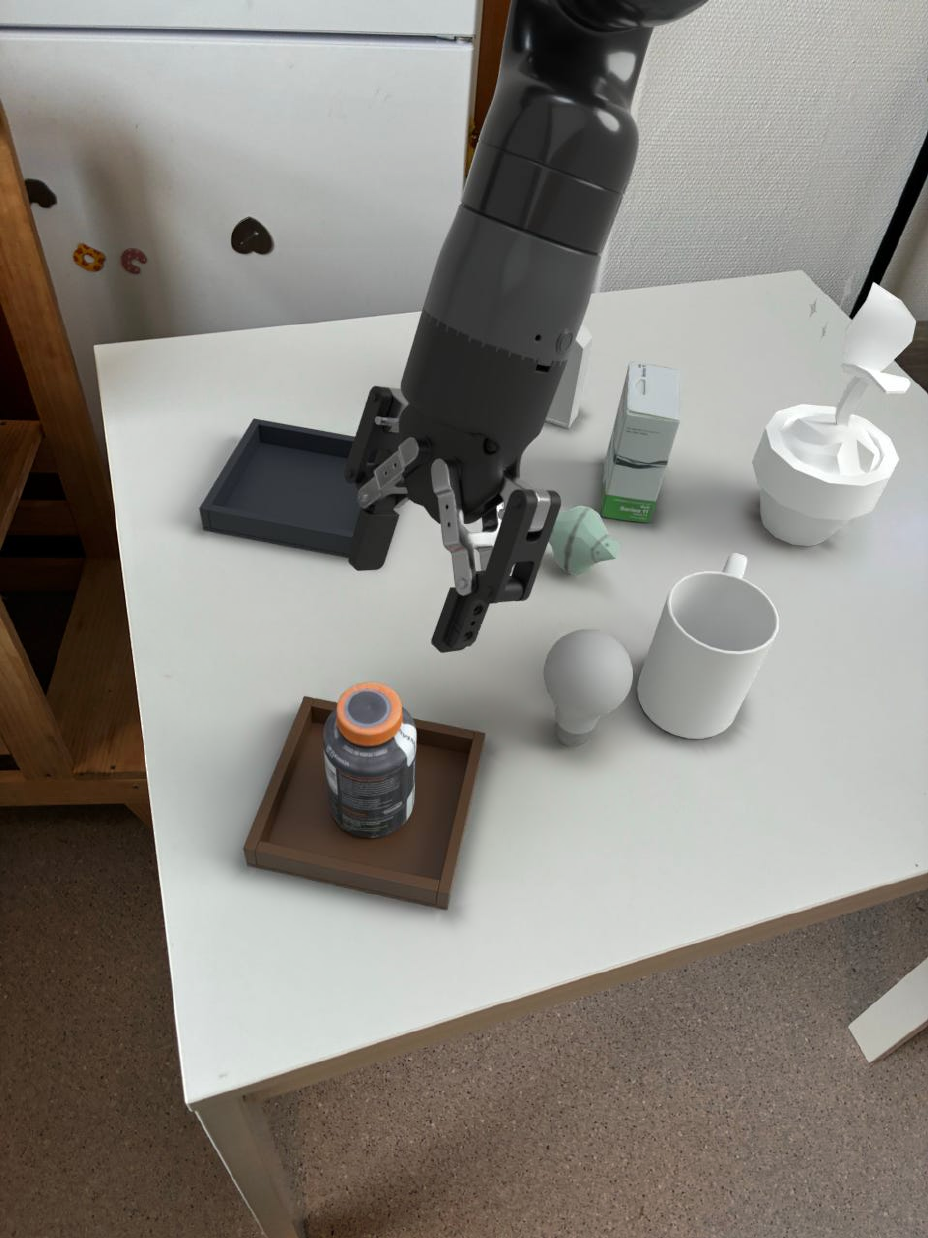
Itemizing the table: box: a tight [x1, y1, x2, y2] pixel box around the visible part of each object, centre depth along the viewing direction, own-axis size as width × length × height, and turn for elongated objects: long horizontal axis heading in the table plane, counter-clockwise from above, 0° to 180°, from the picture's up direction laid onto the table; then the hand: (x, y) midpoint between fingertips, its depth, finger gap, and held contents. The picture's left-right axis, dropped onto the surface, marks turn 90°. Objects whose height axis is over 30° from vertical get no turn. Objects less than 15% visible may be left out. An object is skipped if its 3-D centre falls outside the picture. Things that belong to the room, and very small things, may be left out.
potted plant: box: [751, 264, 917, 547], centre depth 76 cm, size 13×12×25 cm
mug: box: [636, 552, 780, 740], centre depth 69 cm, size 12×8×10 cm, turn 157°
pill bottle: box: [323, 681, 416, 838], centre depth 59 cm, size 6×6×11 cm
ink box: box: [600, 360, 681, 524], centre depth 83 cm, size 9×5×12 cm, turn 171°
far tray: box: [198, 418, 379, 559], centre depth 83 cm, size 16×14×3 cm
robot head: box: [548, 505, 620, 576], centre depth 78 cm, size 8×4×7 cm, turn 58°
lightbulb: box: [542, 628, 634, 747], centre depth 64 cm, size 6×6×11 cm
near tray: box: [242, 695, 486, 911], centre depth 62 cm, size 14×13×2 cm
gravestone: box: [545, 323, 594, 429], centre depth 89 cm, size 3×9×18 cm, turn 64°
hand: (404, 606), depth 51 cm, fingers open, 8 cm apart
